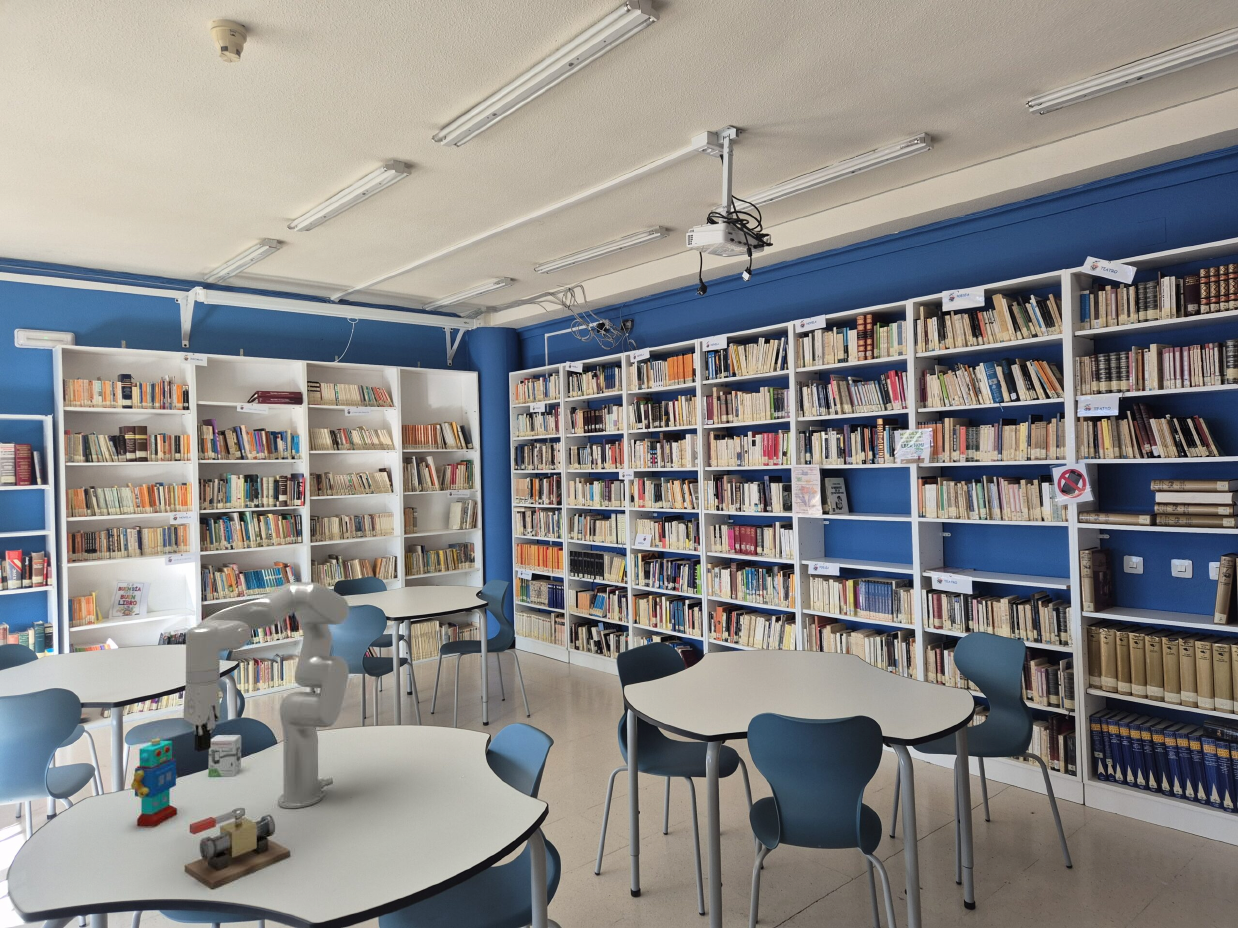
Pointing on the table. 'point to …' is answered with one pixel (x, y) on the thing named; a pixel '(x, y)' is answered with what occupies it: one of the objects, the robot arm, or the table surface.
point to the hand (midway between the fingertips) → (202, 749)
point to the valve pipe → (237, 840)
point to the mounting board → (236, 865)
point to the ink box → (225, 756)
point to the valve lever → (215, 821)
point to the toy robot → (155, 782)
